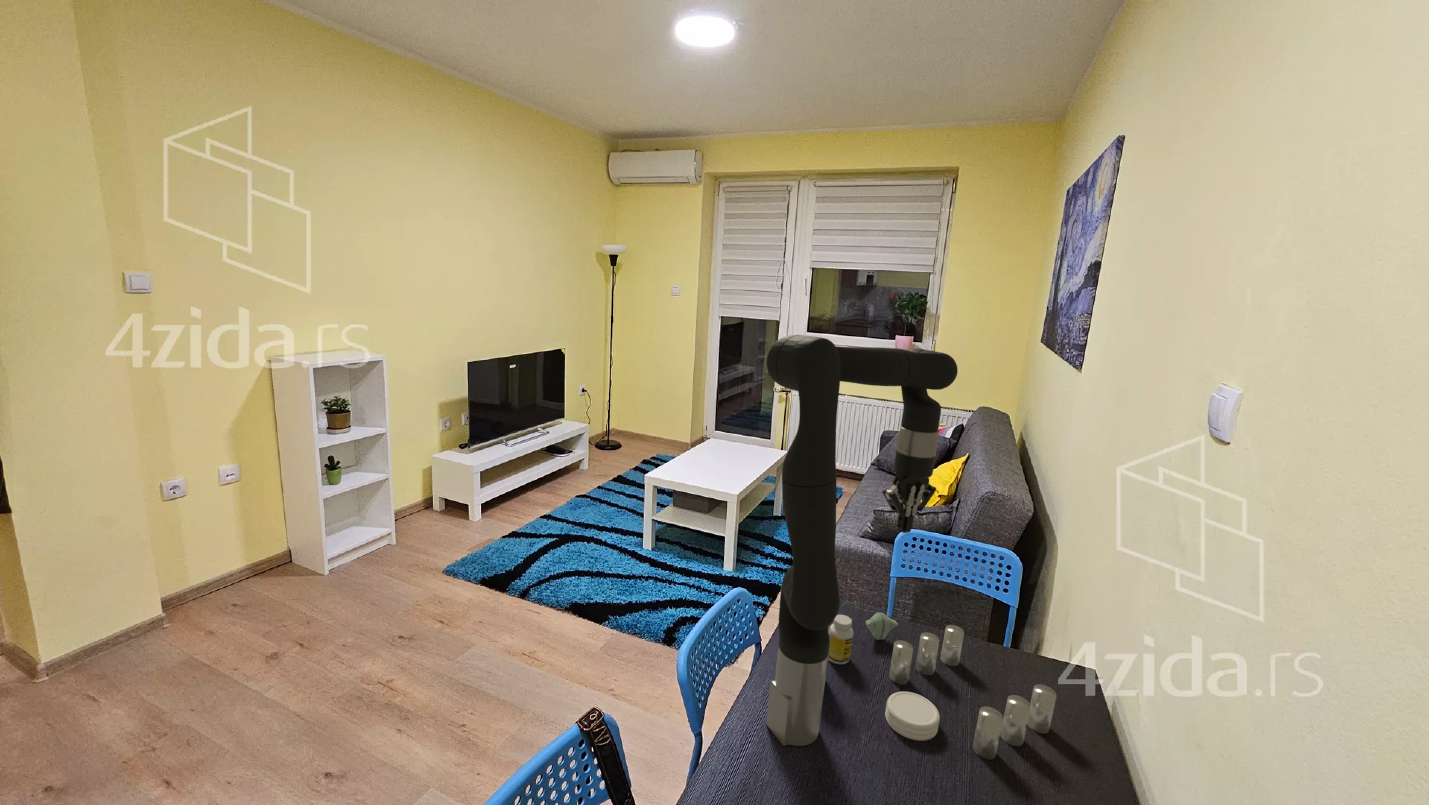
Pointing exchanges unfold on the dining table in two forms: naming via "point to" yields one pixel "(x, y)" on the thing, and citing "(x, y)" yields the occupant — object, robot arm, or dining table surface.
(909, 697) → the white round lidded container
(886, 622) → the pale green rounded piece
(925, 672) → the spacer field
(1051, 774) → the dining table surface
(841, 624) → the supplement bottle
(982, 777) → the dining table surface
